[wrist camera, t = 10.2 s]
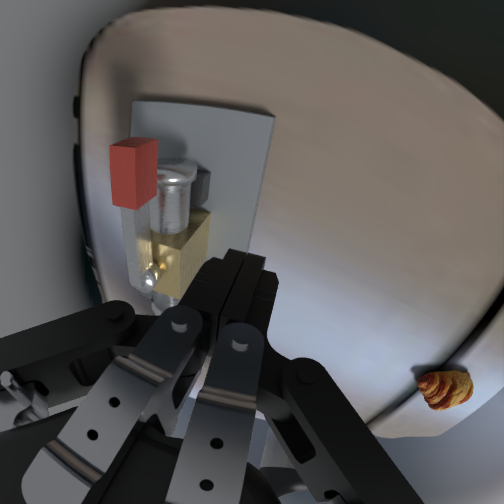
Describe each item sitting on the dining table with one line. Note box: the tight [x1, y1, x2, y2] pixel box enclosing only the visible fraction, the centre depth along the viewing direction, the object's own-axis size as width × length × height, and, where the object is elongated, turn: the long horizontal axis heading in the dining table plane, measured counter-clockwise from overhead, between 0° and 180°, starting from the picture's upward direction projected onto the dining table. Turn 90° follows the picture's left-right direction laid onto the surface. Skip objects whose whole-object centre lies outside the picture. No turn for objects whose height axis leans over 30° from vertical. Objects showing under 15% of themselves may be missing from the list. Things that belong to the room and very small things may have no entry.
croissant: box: [417, 370, 473, 411], centre depth 36 cm, size 21×10×8 cm, turn 67°
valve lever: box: [110, 137, 162, 293], centre depth 20 cm, size 14×3×3 cm, turn 170°
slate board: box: [130, 100, 276, 299], centre depth 31 cm, size 28×15×2 cm, turn 170°
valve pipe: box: [128, 157, 211, 316], centre depth 27 cm, size 18×6×8 cm, turn 170°
